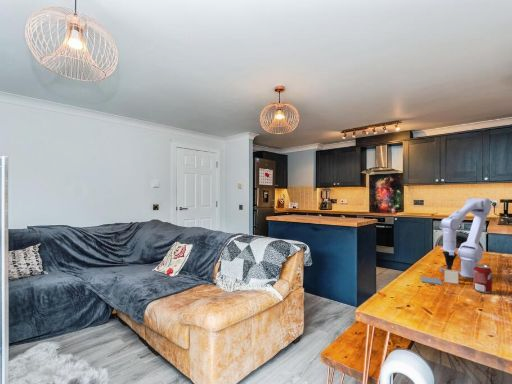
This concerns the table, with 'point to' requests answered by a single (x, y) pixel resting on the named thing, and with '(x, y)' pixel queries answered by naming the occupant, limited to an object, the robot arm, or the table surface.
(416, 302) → the table surface
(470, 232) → the robot arm
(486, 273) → the soda can
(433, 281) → the mat
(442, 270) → the grey bar
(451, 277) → the tile
